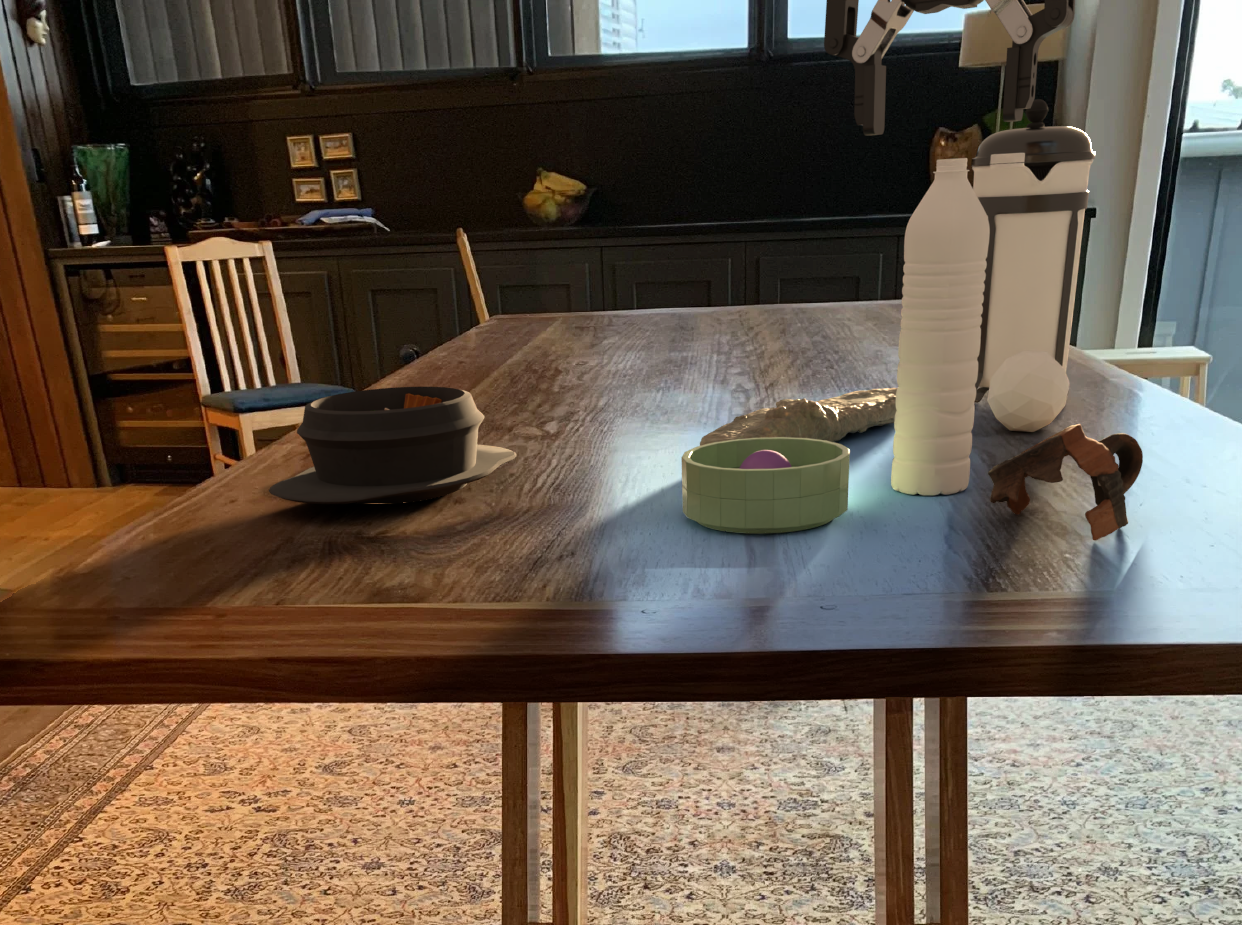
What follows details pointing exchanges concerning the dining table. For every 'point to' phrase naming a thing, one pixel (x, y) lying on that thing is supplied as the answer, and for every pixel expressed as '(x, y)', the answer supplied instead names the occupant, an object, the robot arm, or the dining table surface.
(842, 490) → the bowl
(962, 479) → the water bottle
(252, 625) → the dining table surface
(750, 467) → the ball
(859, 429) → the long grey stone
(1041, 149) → the coffee press
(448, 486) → the grey pot on saucer
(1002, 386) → the geometric ball
